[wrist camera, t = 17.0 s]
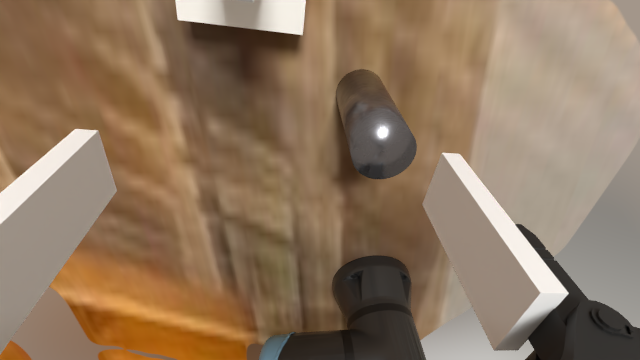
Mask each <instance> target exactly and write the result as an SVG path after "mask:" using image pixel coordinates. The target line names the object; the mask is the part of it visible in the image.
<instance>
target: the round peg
mask: <svg viewBox="0 0 640 360" xmlns="http://www.w3.org/2000/svg"><path fill="white" fill-rule="evenodd" d="M336 99H337V103H338V107H339V111H340V115H341V119H342V122H343V126H344V130H345V134H346V138H347V142H348V146H349V150H350V154H351V158H352V162H353V165H354V166H355V168H356V169H357V171H358V172H359V173H361V174H362V175H364V176H366V177H368V178H372V179H386V178H390V177H393V176H396V175H398V174H399V173H401V172H402V171H404V170H405V169H406V168H407V167H408V166H409V165H410V164H411V162H412V161H413V159H414V157H415V154H416V149H417V146H416V140H415V138H414V136H413V134H412V133H411V131H410V129H409V127H408V126H407V124H406V122H405V121H404V119H403V117H402V115H401V114H400V112H399V110H398V109H397V107H396V105H395V103H394V102H393V100H392V98H391V97H390V95H389V93H388V91H387V90H386V88H385V86H384V85H383V83H382V81H381V79H380V78H379V77H378V76H377V75H376V74H375V73H374V72H372V71H369V70H362V69H361V70H355V71H352V72H350V73H348V74H347V75H346V76H344V77H343V78H342V80H341V81H340V82H339V84H338V87H337V90H336Z"/></svg>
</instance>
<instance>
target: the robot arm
mask: <svg viewBox="0 0 640 360" xmlns="http://www.w3.org/2000/svg"><path fill="white" fill-rule="evenodd" d="M116 191H117V189H116V186H115V183H114V180H113V176H112V173H111V170H110V167H109V164H108V160H107V157H106V154H105V151H104V148H103V144H102V141H101V138H100V135H99V132H98V131H97V130H82V129H75V130H74V131H73V132H71V133H70V134H69V135H68V136H67V137H66V138H64V139H63V140H62V141H61V142H60V143H58V144H57V145H56V146H55V147H54V148H53V149H51V150H50V151H49V152H48V153H47V154H46V155H44V156H43V157H42V158H41V159H40V160H39V161H37V162H36V163H35V164H34V165H33V166H31V167H30V168H29V169H28V170H27V171H26V172H24V173H23V174H22V175H21V176H20V177H19V178H17V179H16V180H15V181H14V182H13V183H12V184H10V185H9V186H8V187H7V188H6V189H5V190H3V191H2V192H1V193H0V354H1V353H2V351H3V350H4V348H5V347H6V346H7V344H8V343H9V341H10V340H11V338H12V337H13V336H14V334H15V333H16V332H17V330H18V329H19V327H20V326H21V325H22V323H23V322H24V320H25V319H26V317H27V316H28V315H29V313H30V312H31V310H32V309H33V308H34V306H35V305H36V303H37V302H38V301H39V299H40V298H41V296H42V295H43V294H44V292H45V291H46V289H47V288H48V287H49V285H50V284H51V282H52V281H53V280H54V278H55V277H56V275H57V274H58V273H59V271H60V270H61V268H62V267H63V266H64V264H65V263H66V261H67V260H68V259H69V257H70V256H71V254H72V253H73V252H74V250H75V249H76V247H77V246H78V245H79V243H80V242H81V240H82V239H83V238H84V236H85V235H86V233H87V232H88V231H89V229H90V228H91V226H92V225H93V224H94V222H95V221H96V219H97V218H98V217H99V215H100V214H101V212H102V211H103V210H104V208H105V207H106V205H107V204H108V203H109V201H110V200H111V198H112V197H113V196H114V194H115V193H116ZM422 205H423V207H424V209H425V211H426V213H427V215H428V217H429V219H430V221H431V223H432V225H433V227H434V229H435V231H436V233H437V235H438V237H439V239H440V241H441V244H442V246H443V248H444V250H445V252H446V254H447V256H448V258H449V260H450V262H451V264H452V266H453V268H454V270H455V272H456V274H457V276H458V278H459V280H460V282H461V284H462V286H463V288H464V290H465V293H466V295H467V297H468V299H469V301H470V303H471V305H472V307H473V309H474V311H475V313H476V315H477V317H478V319H479V321H480V323H481V325H482V327H483V329H484V331H485V333H486V335H487V337H488V339H489V341H490V343H491V346H492V348H493V349H494V350H519V348H520V347H521V346H522V345H523V344H524V343H525V342H526V341H527V340H529V341H530V343H531V345H532V346H533V348H534V351H533V352H532V353H531V354H530V355H529V356H528V357H527V358H526V359H525V360H640V328H636V327H633V326H632V325H631V324H630V323H629V321H628V320H627V319H625V318H624V317H623V316H622V315H621V314H620V313H619V312H617V311H615V310H614V309H612V308H610V307H609V306H607V305H605V304H602V303H600V302H597V301H591V300H588V298H587V297H586V296H585V295H584V294H583V293H582V291H581V290H580V289H579V288H578V286H577V285H576V284H575V283H574V282H573V280H572V279H571V278H570V277H569V276H568V274H567V273H566V272H565V271H564V270H563V268H562V267H561V266H560V265H559V263H558V262H557V261H554V257H553V256H552V255H551V254H550V252H549V251H548V250H546V249H545V246H544V245H543V244H542V243H541V242H540V240H539V239H538V238H537V237H536V235H534V234H533V233H532V232H530V231H529V230H528V229H526V228H525V227H524V226H523V225H521V224H514V223H513V222H512V220H511V219H510V218H509V216H508V215H507V214H506V213H505V211H504V210H503V209H502V207H501V206H500V205H499V204H498V202H497V201H496V200H495V199H494V197H493V196H492V195H491V193H490V192H489V191H488V190H487V188H486V187H485V186H484V184H483V183H482V182H481V181H480V179H479V178H478V177H477V176H476V174H475V173H474V172H473V170H472V169H471V168H470V167H469V165H468V164H467V163H466V162H465V160H464V159H463V158H462V156H461V155H460V154H452V153H442V154H441V157H440V159H439V162H438V165H437V167H436V170H435V172H434V175H433V178H432V180H431V183H430V186H429V188H428V191H427V194H426V196H425V199H424V202H423V204H422ZM333 292H334V296H335V299H336V301H337V303H338V305H339V307H340V309H341V311H342V313H343V315H344V317H345V319H346V322H347V328H348V330H337V331H319V332H302V333H295V332H291V333H289V334H282V335H274V336H272V337H270V338H269V339H268V340H267V341H266V342H265V344H264V345H263V347H262V350H261V353H260V356H259V360H426V358H425V355H424V352H423V348H422V345H421V342H420V339H419V336H418V333H417V329H416V326H415V323H414V320H413V317H412V313H411V279H410V276H409V273H408V270H407V268H406V266H405V265H404V264H403V263H402V262H400V261H398V260H396V259H394V258H391V257H386V256H369V257H363V258H360V259H356V260H354V261H352V262H350V263H348V264H346V265H345V266H343V267H342V268H341V269H340V270H339V271H338V272H337V273H336V274H335V276H334V279H333Z"/></svg>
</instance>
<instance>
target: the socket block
mask: <svg viewBox="0 0 640 360" xmlns="http://www.w3.org/2000/svg"><path fill="white" fill-rule="evenodd" d="M305 4H306V0H255V1H254V2H246V1H238V0H176V8H177V17H178V20H183V21H191V22H199V23H207V24H216V25H224V26H232V27H240V28H249V29H257V30H265V31H273V32H282V33H290V34H298V35H303V26H304V15H305Z"/></svg>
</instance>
